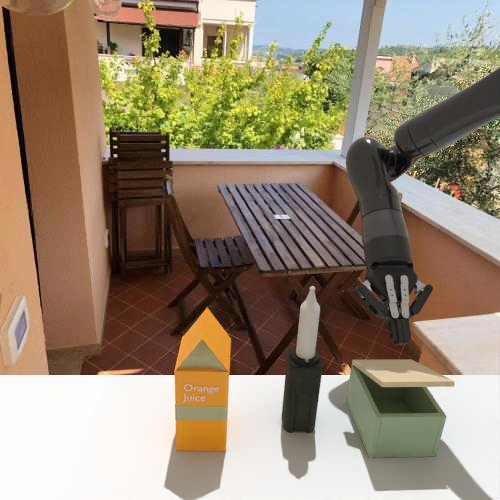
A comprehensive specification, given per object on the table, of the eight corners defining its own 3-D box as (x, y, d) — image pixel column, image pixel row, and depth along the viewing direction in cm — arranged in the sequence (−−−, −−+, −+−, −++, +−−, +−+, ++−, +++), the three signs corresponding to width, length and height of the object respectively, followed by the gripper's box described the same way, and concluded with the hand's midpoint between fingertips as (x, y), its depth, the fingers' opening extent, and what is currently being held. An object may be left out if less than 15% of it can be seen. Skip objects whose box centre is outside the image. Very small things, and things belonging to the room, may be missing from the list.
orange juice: (175, 450, 64) (172, 337, 57) (182, 409, 73) (181, 305, 65) (227, 451, 65) (231, 339, 57) (229, 410, 73) (232, 306, 65)
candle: (284, 432, 69) (297, 294, 59) (281, 410, 73) (293, 278, 64) (315, 433, 69) (333, 294, 60) (310, 410, 74) (326, 279, 64)
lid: (454, 386, 61) (454, 381, 61) (382, 387, 60) (382, 381, 60) (411, 363, 74) (411, 359, 74) (351, 364, 73) (352, 359, 73)
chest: (436, 456, 66) (446, 416, 63) (368, 458, 65) (376, 417, 62) (403, 399, 77) (411, 363, 74) (345, 400, 76) (351, 364, 74)
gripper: (354, 231, 69) (368, 339, 62) (433, 233, 70) (455, 339, 63) (341, 250, 76) (352, 348, 69) (413, 251, 77) (431, 348, 70)
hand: (401, 344), depth 66 cm, fingers closed
